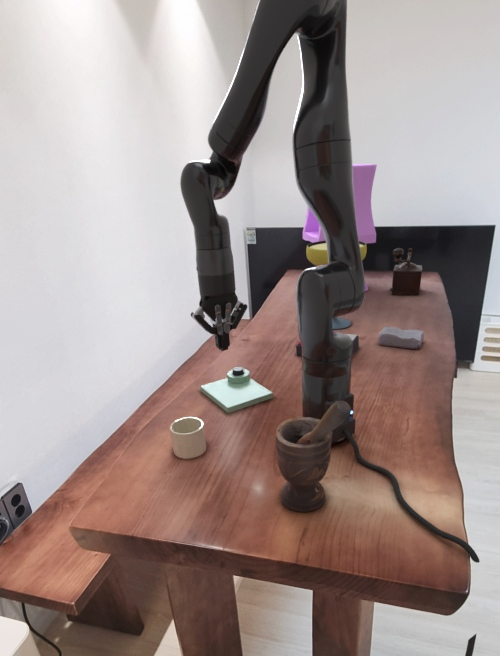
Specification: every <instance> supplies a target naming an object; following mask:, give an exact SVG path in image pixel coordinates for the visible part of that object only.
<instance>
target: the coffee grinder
mask: <svg viewBox="0 0 500 656" xmlns="http://www.w3.org/2000/svg"><path fill="white" fill-rule="evenodd" d="M407 250H408V252H407V258H406V259H403V258H402V257H403V255H404V254H405V252H404V251H405V250H404V249H403V248H401V247H397V248H395V249H393V250H392V255H393V257H394V258H393V261H394V263H398V264H395V265H394V268H393V270H392V281H391V287H390V289H389V291H390V294H391V295H392V296H401V297H406V296H407V297H419V296H420V290H421V284H422V283H421V282H422V273H423V265H422V264H421V265H420V264H416V263H413V262H411V258H412V255H413V254H412V253H413V248H412V247H409V248H408V249H407Z"/></svg>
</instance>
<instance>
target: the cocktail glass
mask: <svg viewBox="0 0 500 656" xmlns="http://www.w3.org/2000/svg"><path fill="white" fill-rule="evenodd" d="M359 245H360V252H361V258H362V261H363V260H364V259H365V258H366V256H367V249H368V247H367V243H364V242H361V241H359ZM305 250H306V251H305V253H306V258H307V260H308V261H309V262H310V263H311V264H312V265H313V266H315V267H316V266H321V265H326V264H328V253H327V246H326V241H319V242H314V243H312V242H310V243H308V244H307V245H306V249H305ZM351 325H352V322H351V320H349V319H346V318H343V317H341V318H340V317H335V318H332V326H333V330H343V329H346V328H349V327H351Z"/></svg>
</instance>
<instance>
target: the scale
mask: <svg viewBox="0 0 500 656" xmlns="http://www.w3.org/2000/svg"><path fill="white" fill-rule="evenodd" d="M243 373H244V374H243V375H241V376H234V375H233V369H230V370H229V371H227V373H226V377H225V378H222V379H219V380H215V381H212V382H209V383H205V384H202V385H200V386H199V388H200V392H201V393H202V394H204V395H205V396H206V397H208V398H209V399H210V400H211V401H213V403H215V404H216V405H218V407H220V408H221V409H222V410H223V411H225V412H226V413H227V414H230V413H233V412H235V411H239V410H241V409H245V408H247V407H250V406H253V405H257V404H260V403H261V402H264V401H268V400H271V399H273V398H274V393H273V391H271V390H269V389H268V388H266V387H264V386H263V385H261V384H260V383H258V382H257V381H255V380H254V379H252V378H251V376H250V374H251V373H250V371H249V370H248V369H246V368H243Z"/></svg>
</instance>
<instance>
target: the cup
mask: <svg viewBox="0 0 500 656" xmlns="http://www.w3.org/2000/svg"><path fill="white" fill-rule="evenodd" d="M169 433H170V439H171V445H172V452H173V454H174V456H176V457H177V458H180V459H185V460H189V459H190V460H191V459H194V458H197V457H200V456H202V455H203V454H204V453H205V452H206V451H207V442H206V441H207V440H206V432H205V425H204V421H203V420H202V419H201V418H198V417H194V416H185V417H180V418H178V419H175V420H174V421H173V422H171V423H170V425H169Z"/></svg>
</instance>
